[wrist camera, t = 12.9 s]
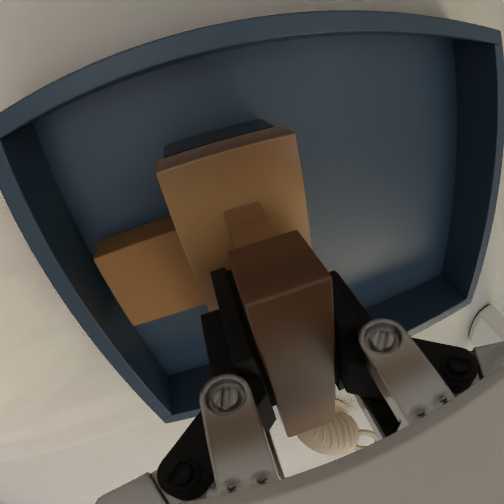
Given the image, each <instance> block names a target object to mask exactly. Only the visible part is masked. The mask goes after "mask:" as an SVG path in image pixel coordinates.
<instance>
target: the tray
mask: <svg viewBox="0 0 504 504" xmlns="http://www.w3.org/2000/svg"><path fill="white" fill-rule="evenodd" d="M259 119H262V120H264V121H266V122H268V123H270V124H272V125H273V126H275V127H276V126H280V125H281V126H283V127H285V128H287V129H289V130H291V131H293V132H295V133H296V137H297V143H298V149H299V156H300V162H301V168H302V175H303V182H304V189H305V196H306V203H307V210H308V218H309V225H310V233H311V241H312V250H313V251H314V253H315V254H316V256H317V257H318V258H319V260H320V261H321V262H322V264H323V265H324V266H325V268H326V269H327V271H328V272H330V271H333V270H335V271H336V272H337V273H338V274H339V275H340V276H341V278H342V279H343V280H344V282H345V283H346V284H347V286H348V287H349V288H350V290H351V291H352V292H353V294H354V295H355V296H356V298H357V299H358V300H359V302H360V303H361V304H362V306H363V307H364V309H365V310H366V311H367V313H368V314H369V315H370V317H371V318H372V320H374V319H378V318H387V319H392V320H394V321H396V322H398V323H399V324H400V325H401V326H402V327H403V328H404V329H405V330H406V332H407V333H408V334H409V335H410V337H411V336H412V335H414V334H416V333H418V332H420V331H422V330H424V329H426V328H428V327H430V326H431V325H433V324H435V323H437V322H439V321H441V320H442V319H444V318H446V317H448V316H449V315H451V314H453V313H455V312H456V311H458V310H460V309H461V308H463V307H465V306H466V305H468V304H470V303H471V301H472V298H473V295H474V292H475V289H476V286H477V282H478V279H479V276H480V272H481V269H482V265H483V261H484V258H485V254H486V250H487V246H488V242H489V237H490V233H491V228H492V223H493V219H494V213H495V208H496V202H497V196H498V190H499V183H500V175H501V167H502V157H503V146H504V56H503V46H502V38H501V31H499V30H496V29H492V28H488V27H484V26H480V25H476V24H471V23H467V22H462V21H457V20H451V19H446V18H439V17H433V16H425V15H417V14H408V13H397V12H383V11H313V12H299V13H287V14H278V15H269V16H262V17H255V18H248V19H242V20H236V21H231V22H226V23H220V24H216V25H211V26H206V27H202V28H198V29H194V30H190V31H186V32H182V33H178V34H175V35H171V36H168V37H164V38H161V39H158V40H154V41H151V42H148V43H145V44H142V45H139V46H136V47H133V48H131V49H128V50H125V51H122V52H120V53H117V54H114V55H112V56H109V57H107V58H104V59H102V60H99V61H97V62H95V63H92V64H90V65H88V66H85V67H83V68H81V69H79V70H77V71H74V72H72V73H70V74H68V75H66V76H64V77H62V78H60V79H58V80H56V81H54V82H52V83H50V84H48V85H46V86H44V87H43V88H41V89H39V90H37V91H35V92H34V93H32V94H30V95H28V96H26V97H25V98H23V99H21V100H20V101H18V102H16V103H15V104H13V105H11V106H10V107H8V108H7V109H5V110H4V111H2V112H0V190H1V192H2V194H3V196H4V198H5V201H6V203H7V205H8V207H9V209H10V211H11V213H12V215H13V217H14V219H15V221H16V223H17V225H18V227H19V229H20V230H21V232H22V234H23V236H24V238H25V240H26V241H27V243H28V245H29V247H30V249H31V250H32V252H33V254H34V255H35V257H36V259H37V261H38V262H39V264H40V266H41V267H42V269H43V270H44V272H45V274H46V275H47V277H48V278H49V280H50V282H51V283H52V285H53V286H54V288H55V289H56V291H57V292H58V294H59V295H60V297H61V298H62V300H63V301H64V303H65V304H66V306H67V307H68V309H69V310H70V311H71V313H72V314H73V316H74V317H75V318H76V320H77V321H78V323H79V324H80V325H81V327H82V328H83V329H84V331H85V332H86V333H87V335H88V336H89V337H90V339H91V340H92V341H93V342H94V344H95V345H96V346H97V348H98V349H99V350H100V351H101V353H102V354H103V355H104V356H105V357H106V359H107V360H108V361H109V362H110V364H111V365H112V366H113V367H114V368H115V369H116V371H117V372H118V373H119V374H120V375H121V376H122V378H123V379H124V380H125V381H126V382H127V383H128V384H129V385H130V387H131V388H132V389H133V390H134V391H135V392H136V393H137V394H138V395H139V396H140V398H141V399H142V400H143V401H144V402H145V403H146V404H147V405H148V406H149V407H150V408H151V409H152V410H153V411H154V412H155V413H156V414H157V415H158V416H159V417H160V418H161V419H162V420H163V421H164V422H165V423H170V422H175V421H179V420H183V419H188V418H192V417H196V416H197V415H198V414H199V412H200V411H201V407H200V393H201V390H202V388H203V387H204V386H205V384H206V383H207V382H208V381H210V380H211V379H212V374H211V370H210V365H209V360H208V355H207V350H206V344H205V339H204V334H203V329H202V323H201V317H200V316H201V314H204V313H208V312H209V310H208V308H207V306H206V304H204V305H201V306H198V307H195V308H191V309H188V310H185V311H182V312H178V313H175V314H172V315H169V316H165V317H162V318H159V319H155V320H152V321H149V322H145V323H142V324H139V325H135V326H133V325H132V323H131V322H130V320H129V319H128V317H127V316H126V314H125V312H124V311H123V309H122V308H121V306H120V304H119V303H118V301H117V299H116V298H115V296H114V295H113V293H112V291H111V289H110V288H109V286H108V284H107V283H106V281H105V279H104V278H103V276H102V274H101V272H100V270H99V269H98V267H97V265H96V263H95V262H94V259H93V258H94V255H95V252H96V248H97V245H98V242H99V241H101V240H103V239H106V238H109V237H111V236H114V235H117V234H119V233H122V232H125V231H128V230H131V229H133V228H136V227H139V226H142V225H145V224H148V223H150V222H153V221H156V220H159V219H162V218H165V217H168V216H171V215H170V213H169V210H168V207H167V205H166V202H165V199H164V196H163V194H162V191H161V188H160V185H159V182H158V180H157V177H156V166H157V161H158V160H160V159H163V152H164V147H165V146H168V145H171V144H174V143H177V142H180V141H183V140H186V139H190V138H193V137H196V136H199V135H203V134H206V133H210V132H213V131H217V130H220V129H224V128H228V127H231V126H235V125H239V124H243V123H247V122H251V121H255V120H259Z"/></svg>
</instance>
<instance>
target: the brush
mask: <svg viewBox="0 0 504 504" xmlns="http://www.w3.org/2000/svg"><path fill="white" fill-rule="evenodd" d="M156 177H157V180H158V182H159V185H160V188H161V191H162V194H163V196H164V199H165V202H166V205H167V207H168V210H169V213H170V215H171V218H172V221H173V223H174V226H175V229H176V231H177V234H178V236H179V239H180V242H181V244H182V247H183V249H184V252H185V254H186V257H187V259H188V262H189V264H190V267H191V269H192V272H193V274H194V277H195V279H196V282H197V284H198V287H199V289H200V291H201V294H202V296H203V299H204V301H205V303H206V306H207V308H208V310H209V312H211V311H214V310H217V309H219V307H218V303H217V299H216V295H215V291H214V287H213V282H212V278H211V274H210V272H211V271H214V270H217V269H220V268H223V267H225V268H226V271H228V270H231V269H232V273H233V276H234V279H235V282H236V285H237V288H238V292H239V295H240V298H241V301H242V304H243V307H244V310H245V313H246V316H247V319H248V322H249V325H250V328H251V331H252V334H253V337H254V340H255V342H256V345H257V348H258V351H259V354H260V357H261V360H262V363H263V366H264V369H265V372H266V375H267V378H268V381H269V384H270V387H271V390H272V393H273V396H274V399H275V402H276V406H277V409H278V411H279V414H280V417H281V420H282V422H283V425H284V428H285V431H286V433H287V436H288V437H292V436H295V435H298V434H300V433H303V432H306V431H309V430H311V429H314V428H317V427H319V426H322V425H325V424H327V423H330V422H332V421H334V420H335V333H334V306H333V286H332V276H331V275H330V273H329V272H328V271H327V269H326V268H325V266H324V265H323V264H322V262H321V261H320V260H319V258H318V257H317V256H316V254H315V253H314V251H313V250H312V241H311V233H310V225H309V218H308V210H307V203H306V196H305V189H304V182H303V175H302V168H301V162H300V156H299V149H298V143H297V137H296V133H295V132H293V131H291V130H289V129H287V128H285V127H283V126H281V125H280V126H276V127H275V126H273V125H272V124H270V123H268V122H266V121H264V120H262V119H259V120H255V121H251V122H247V123H243V124H239V125H235V126H231V127H228V128H224V129H220V130H217V131H213V132H210V133H206V134H203V135H199V136H196V137H193V138H190V139H186V140H183V141H180V142H177V143H174V144H171V145H168V146H165V147H164V152H163V159H160V160H158V161H157V166H156Z"/></svg>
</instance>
